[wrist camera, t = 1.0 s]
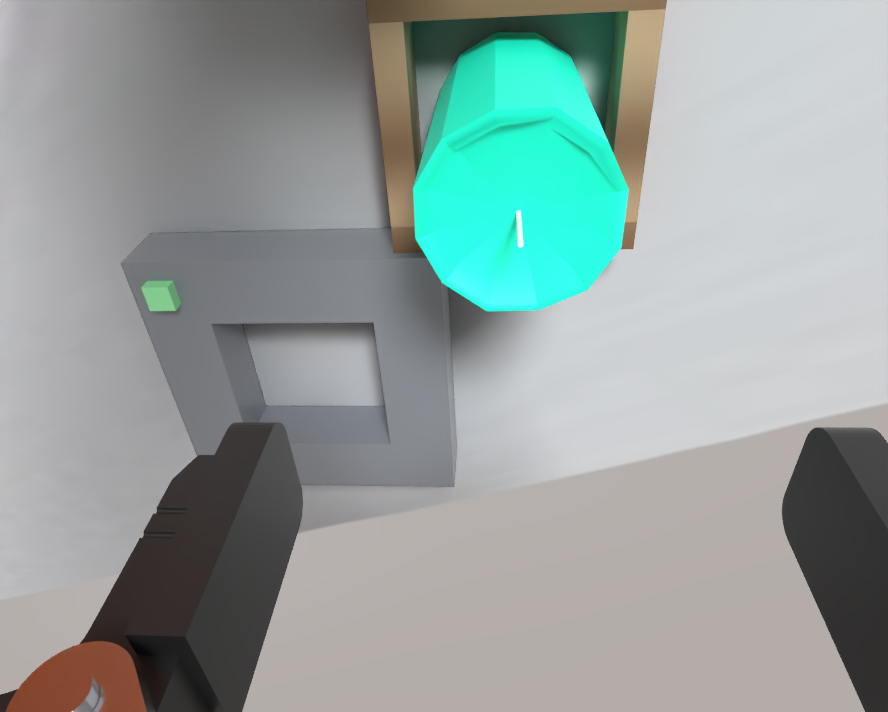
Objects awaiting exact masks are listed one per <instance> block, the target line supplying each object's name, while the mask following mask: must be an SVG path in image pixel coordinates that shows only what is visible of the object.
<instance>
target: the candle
mask: <svg viewBox="0 0 888 712" xmlns="http://www.w3.org/2000/svg"><path fill="white" fill-rule="evenodd" d="M628 192H629V189H628V186H627V184H626V182H625V179H624V177H623V175H622V172H621V170H620V168H619V165H618V163H617V161H616V158H615V156H614V154H613V151H612V149H611V147H610V144H609V142H608V140H607V137H606V135H605V133H604V131H603V128H602V126H601V124H600V121H599V119H598V117H597V115H596V112H595V110H594V108H593V106H592V103H591V101H590V99H589V96H588V94H587V92H586V90H585V87H584V85H583V83H582V81H581V78H580V76H579V74H578V71H577V69H576V67H575V65H574V62H573V60H572V58H571V56H570V55H569V54H568V53H567V52H565V51H564V50H562V49H561V48H559V47H558V46H556V45H555V44H553V43H552V42H550V41H549V40H547V39H546V38H544V37H543V36H541V35H540V34H538V33H537V32H495V33H493V34H492V35H490V36H488V37H487V38H485V39H484V40H482V41H480V42H479V43H477V44H475V45H474V46H472V47H471V48H469V49H467V50H466V51H464V52H462V53H461V54H460V55H459V57H458V59H457V60H456V62H455V64H454V66H453V68H452V70H451V71H450V73H449V75H448V77H447V79H446V81H445V82H444V84H443V86H442V88H441V90H440V93H439V97H438V100H437V104H436V107H435V111H434V115H433V118H432V122H431V126H430V129H429V133H428V136H427V140H426V144H425V147H424V151H423V154H422V158H421V162H420V165H419V169H418V172H417V176H416V180H415V183H414V187H413V197H414V219H415V239H416V240H417V242H418V244H419V245H420V247H421V249H422V250H423V252H424V254H425V255H426V257H427V259H428V260H429V262H430V264H431V265H432V267H433V269H434V270H435V272H436V274H437V275H438V277H439V279H440V280H441V282H442V283H443V284H444V285H446V286H448V287H449V288H451V289H452V290H454V291H455V292H457V293H459V294H460V295H462V296H463V297H465V298H466V299H468V300H470V301H471V302H473V303H474V304H476V305H477V306H479V307H480V308H482V309H484V310H485V311H525V310H540V309H543V308H545V307H547V306H550V305H552V304H555V303H557V302H560V301H562V300H565V299H567V298H569V297H572V296H574V295H577V294H579V293H582V292H584V291H586V290H588V289H589V287H590V286H591V285H592V284H593V283H594V281H595V280H596V279H597V278H598V276H599V275H600V274H601V273H602V271H603V270H604V269H605V268H606V266H607V265H608V264H609V263H610V261H611V260H612V259H613V258H614V256H615V255H616V254H617V253H618V251H619V250H620V249H621V247H622V240H623V232H624V224H625V216H626V208H627V200H628Z"/></svg>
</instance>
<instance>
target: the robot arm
mask: <svg viewBox="0 0 888 712" xmlns="http://www.w3.org/2000/svg"><path fill="white" fill-rule="evenodd" d="M302 506H303V498H302V489H301V484H300V480H299V477H298V473H297V469H296V465H295V462H294V458H293V454H292V451H291V447H290V443H289V439H288V436H287V432H286V429H285V427H284V425H283V424H282V423H267V422H235V423H232V424H231V425H230V426H229V427H228V429H227V431H226V433H225V435H224V437H223V439H222V441H221V443H220V445H219V447H218V449H217V451H216V453H215V455H198V456H197V457H196V458H195V459H194V460H193V461H192V462H191V463H190V464H188V465H187V466H186V467H185V468H184V469H183V470H182V471H181V472H180V473H179V474H178V475H177V476H176V477H174V478H173V479H172V481H171V483H170V485H169V487H168V488H167V490H166V492H165V494H164V496H163V497H162V499H161V501H160V503H159V505H158V507H157V513H156V514H153V516H152V517H151V519H150V521H149V523H148V525H147V526H146V528H145V530H144V536H143V538H140V539H139V541H138V543H137V545H136V546H135V548H134V550H133V552H132V554H131V555H130V557H129V559H128V561H127V563H126V564H125V566H124V568H123V570H122V572H121V574H120V575H119V577H118V579H117V581H116V583H115V584H114V586H113V588H112V590H111V592H110V594H109V595H108V597H107V599H106V601H105V603H104V605H103V606H102V608H101V610H100V612H99V614H98V615H97V617H96V619H95V621H94V622H93V624H92V626H91V628H90V630H89V631H88V633H87V635H86V636H85V638H84V639H83V640H82V642H81V643H80V644H79V645H76V646H73V647H70V648H68V649H66V650H64V651H61V652H60V653H58V654H57V655H55V656H53V657H51V658H50V659H48V660H47V661H46V662H44V663H43V664H42V665H40V666H39V667H38V668H37V669H36V670H35V671H34V672H32V673H31V675H30V676H29V677H28V678H27V679H26V680H25V681H24V682H23V683H22V684H21V686H20V687H19V689H17V690H14V691H11V692H8V693H5V694H1V695H0V712H242V710H243V707H244V703H245V700H246V697H247V694H248V690H249V687H250V684H251V681H252V678H253V675H254V671H255V668H256V665H257V661H258V658H259V655H260V652H261V649H262V646H263V642H264V639H265V636H266V633H267V629H268V626H269V623H270V620H271V616H272V613H273V610H274V607H275V604H276V600H277V597H278V594H279V591H280V588H281V584H282V581H283V578H284V575H285V572H286V568H287V565H288V562H289V559H290V555H291V552H292V549H293V546H294V542H295V539H296V536H297V533H298V530H299V526H300V522H301V516H302ZM782 518H783V525H784V529H785V533H786V536H787V538H788V541H789V543H790V546H791V548H792V550H793V552H794V554H795V557H796V559H797V561H798V563H799V565H800V568H801V570H802V572H803V574H804V577H805V579H806V581H807V583H808V586H809V588H810V590H811V592H812V594H813V597H814V599H815V601H816V603H817V606H818V608H819V610H820V612H821V614H822V617H823V619H824V621H825V623H826V626H827V628H828V630H829V632H830V634H831V637H832V639H833V641H834V643H835V645H836V647H837V650H838V652H839V654H840V657H841V659H842V661H843V663H844V665H845V668H846V670H847V672H848V674H849V676H850V679H851V681H852V683H853V685H854V688H855V690H856V692H857V694H858V697H859V699H860V701H861V703H862V705H863V708H864V710H865V712H888V443H887V442H886V440H885V439H884V437H882V435H881V434H880V433H879V432H878V431H877V430H875V429H872V428H814V429H812V430H811V431H810V433H809V434H808V436H807V438H806V440H805V443H804V446H803V449H802V451H801V454H800V456H799V459H798V461H797V464H796V466H795V469H794V472H793V474H792V477H791V479H790V482H789V485H788V487H787V490H786V492H785V495H784V499H783V505H782Z"/></svg>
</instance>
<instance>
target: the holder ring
mask: <svg viewBox="0 0 888 712" xmlns="http://www.w3.org/2000/svg"><path fill="white" fill-rule="evenodd" d="M666 2H667V0H366V5H367V14H368V23H369V32H370V41H371V50H372V59H373V68H374V78H375V87H376V96H377V105H378V114H379V123H380V132H381V141H382V150H383V159H384V168H385V177H386V186H387V195H388V204H389V213H390V222H391V231H392V240H393V249H394V253H424V252H423V250H422V249H421V247H420V245H419V244H418V242H417V240H416V239H415V219H414V197H413V187H414V183H415V180H416V176H417V172H418V169H419V165H420V162H421V158H422V154H421V140H420V127H419V113H418V100H417V87H416V73H415V60H414V46H413V33H412V21H433V20H453V19H474V18H495V17H515V16H536V15H556V14H577V13H597V12H616V19H615V29H614V40H613V50H612V61H611V71H610V82H609V92H608V103H607V113H606V124H605V135H606V137H607V140H608V142H609V144H610V147H611V149H612V151H613V154H614V156H615V158H616V161H617V163H618V165H619V168H620V170H621V172H622V175H623V177H624V179H625V182H626V184H627V186H628V189H629V192H628V200H627V208H626V216H625V224H624V232H623V240H622V247H621V249H633V246H634V238H635V231H636V224H637V216H638V209H639V202H640V194H641V187H642V179H643V172H644V165H645V157H646V150H647V143H648V135H649V128H650V120H651V113H652V106H653V98H654V91H655V84H656V76H657V69H658V61H659V54H660V47H661V39H662V32H663V25H664V17H665V10H666Z"/></svg>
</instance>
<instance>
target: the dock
mask: <svg viewBox="0 0 888 712" xmlns="http://www.w3.org/2000/svg"><path fill="white" fill-rule="evenodd" d="M121 265H122V268H123V270H124V273H125V275H126V278H127V280H128V283H129V285H130V288H131V290H132V293H133V296H134V298H135V301H136V303H137V306H138V308H139V311H140V313H141V316H142V318H143V321H144V323H145V326H146V328H147V331H148V333H149V336H150V338H151V341H152V343H153V346H154V348H155V351H156V353H157V356H158V359H159V361H160V364H161V366H162V369H163V371H164V374H165V376H166V379H167V381H168V384H169V386H170V389H171V391H172V394H173V396H174V399H175V401H176V404H177V406H178V409H179V411H180V414H181V416H182V419H183V422H184V424H185V427H186V429H187V432H188V434H189V437H190V439H191V442H192V444H193V447H194V449H195V452H196V454H197V456H198V455H215V453H216V451H217V449H218V447H219V445H220V443H221V441H222V439H223V437H224V435H225V433H226V431H227V429H228V427H229V426H230V425H231V424H232V423H235V422H267V423H282V424H283V425H284V427H285V429H286V432H287V436H288V439H289V443H290V447H291V451H292V454H293V458H294V462H295V465H296V469H297V473H298V477H299V480H300V484H301V485H365V486H436V487H454V484H455V470H456V455H457V439H456V421H455V404H454V386H453V369H452V351H451V334H450V316H449V298H448V286H446V285H444V284H443V283H442V282H441V280H440V279H439V277H438V275H437V274H436V272H435V270H434V269H433V267H432V265H431V264H430V262H429V260H428V259H427V257H426V255H425V254H424V253H394V249H393V240H392V231H391V228H375V229H327V230H279V231H231V232H183V233H150V234H149V235H148V236H147V237H146V238H145V239H144V240H143V241H142V242H141V243H140V244H139V245H138V246H137V247H136V248H135V249H134V250H133V251H132V252H131V253H130V254H129V255H128V256H127V257H126V258H125V259H124V260H123V261H122V262H121ZM249 323H373V324H374V331H375V338H376V345H377V352H378V359H379V366H380V373H381V380H382V387H383V394H384V401H385V406H266V404H265V401H264V397H263V394H262V390H261V387H260V384H259V380H258V377H257V373H256V370H255V366H254V363H253V359H252V356H251V352H250V349H249V345H248V342H247V338H246V335H245V332H244V328H243V325H242V324H249Z"/></svg>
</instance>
